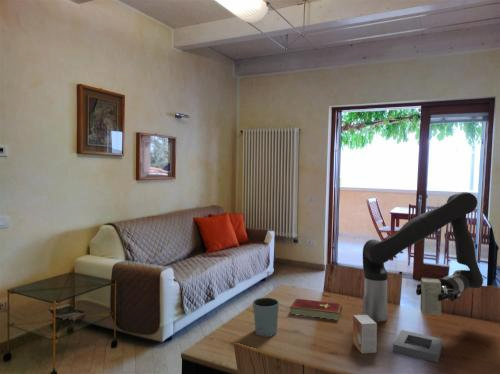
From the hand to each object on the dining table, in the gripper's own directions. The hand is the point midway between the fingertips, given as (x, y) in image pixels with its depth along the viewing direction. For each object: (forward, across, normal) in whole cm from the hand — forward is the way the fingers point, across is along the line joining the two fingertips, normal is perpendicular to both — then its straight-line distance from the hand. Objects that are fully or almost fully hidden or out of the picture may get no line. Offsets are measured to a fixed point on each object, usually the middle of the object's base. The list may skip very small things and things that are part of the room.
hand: (428, 295), depth 131 cm
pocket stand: (+6, 0, +18) cm, 19 cm away
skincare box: (-2, 0, +7) cm, 8 cm away
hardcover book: (+10, -45, +18) cm, 50 cm away
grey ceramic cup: (+41, -43, +18) cm, 62 cm away
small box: (+21, -12, +18) cm, 30 cm away
